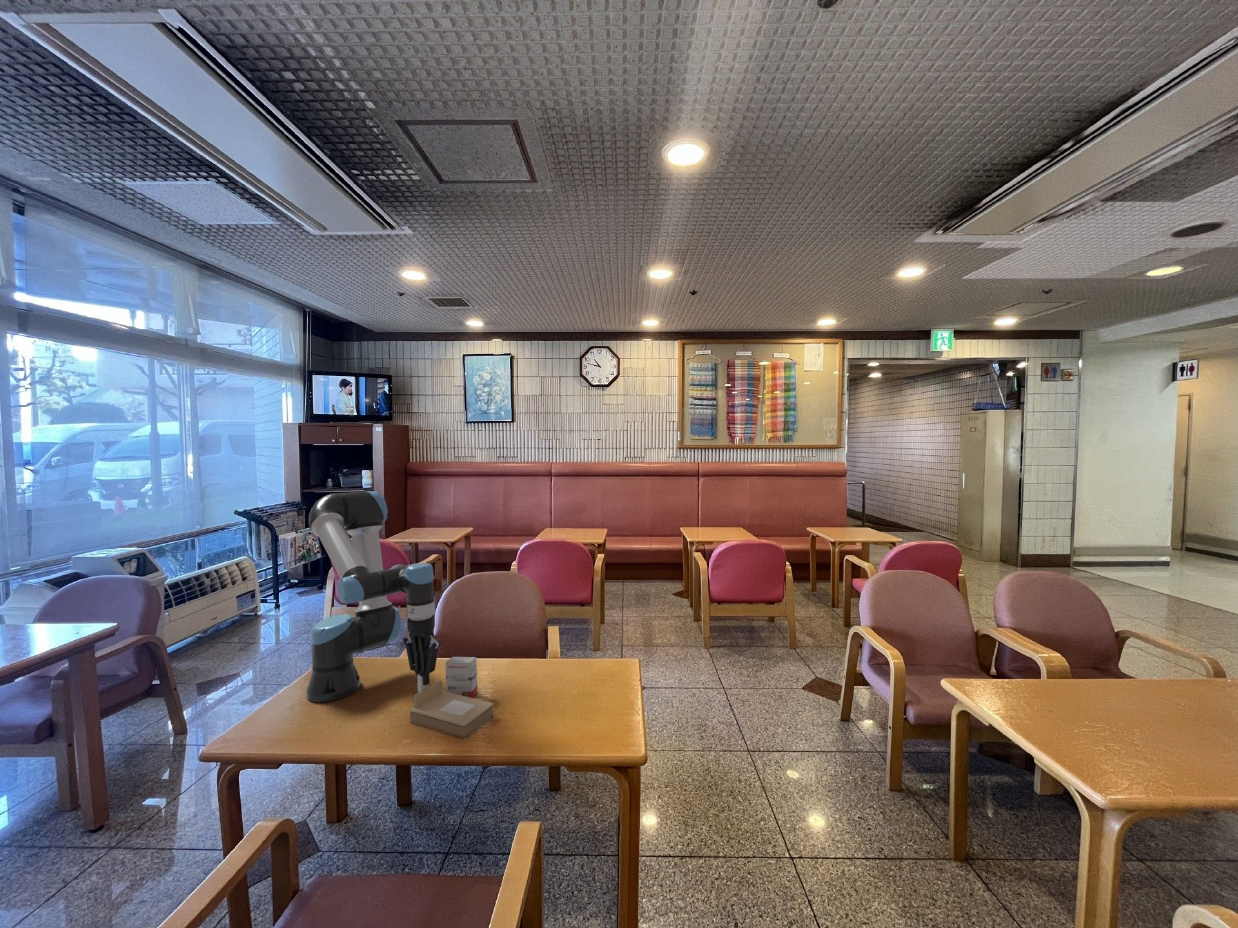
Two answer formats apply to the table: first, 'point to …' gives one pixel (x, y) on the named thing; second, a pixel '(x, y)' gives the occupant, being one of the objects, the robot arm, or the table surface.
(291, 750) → the table surface
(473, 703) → the lid
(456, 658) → the ink box
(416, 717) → the mailer
